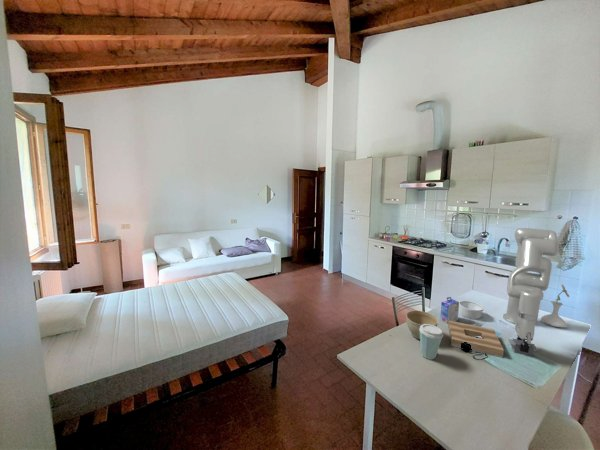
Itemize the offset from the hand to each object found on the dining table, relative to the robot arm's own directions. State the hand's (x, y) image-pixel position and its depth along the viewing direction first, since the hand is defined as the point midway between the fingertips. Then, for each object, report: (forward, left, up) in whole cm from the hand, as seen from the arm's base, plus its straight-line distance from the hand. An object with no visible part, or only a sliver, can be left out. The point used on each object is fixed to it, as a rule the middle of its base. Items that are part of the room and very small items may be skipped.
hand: (522, 348), depth 132 cm
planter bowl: (+7, -47, -2) cm, 48 cm away
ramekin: (-32, -18, -2) cm, 37 cm away
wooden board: (0, -21, -2) cm, 21 cm away
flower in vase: (-42, +27, -2) cm, 50 cm away
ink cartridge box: (-19, -31, -2) cm, 36 cm away
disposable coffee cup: (+24, -43, -2) cm, 49 cm away
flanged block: (0, 0, -2) cm, 2 cm away
